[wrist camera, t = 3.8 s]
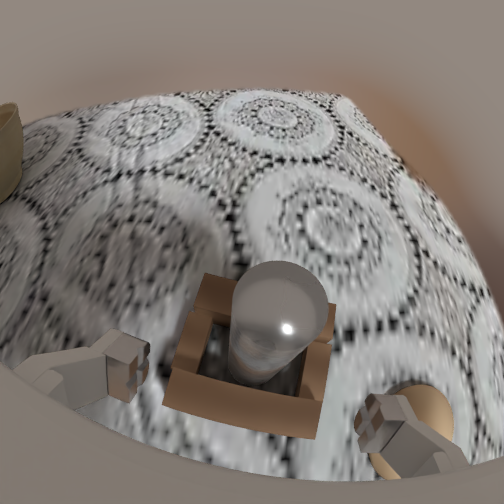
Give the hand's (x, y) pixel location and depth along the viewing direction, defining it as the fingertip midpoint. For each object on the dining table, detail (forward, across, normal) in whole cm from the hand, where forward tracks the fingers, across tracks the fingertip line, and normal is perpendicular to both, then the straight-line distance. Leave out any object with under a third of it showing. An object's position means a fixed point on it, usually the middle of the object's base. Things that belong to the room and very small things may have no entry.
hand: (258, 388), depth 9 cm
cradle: (+12, 0, -7) cm, 14 cm away
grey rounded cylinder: (+12, 0, -7) cm, 14 cm away
